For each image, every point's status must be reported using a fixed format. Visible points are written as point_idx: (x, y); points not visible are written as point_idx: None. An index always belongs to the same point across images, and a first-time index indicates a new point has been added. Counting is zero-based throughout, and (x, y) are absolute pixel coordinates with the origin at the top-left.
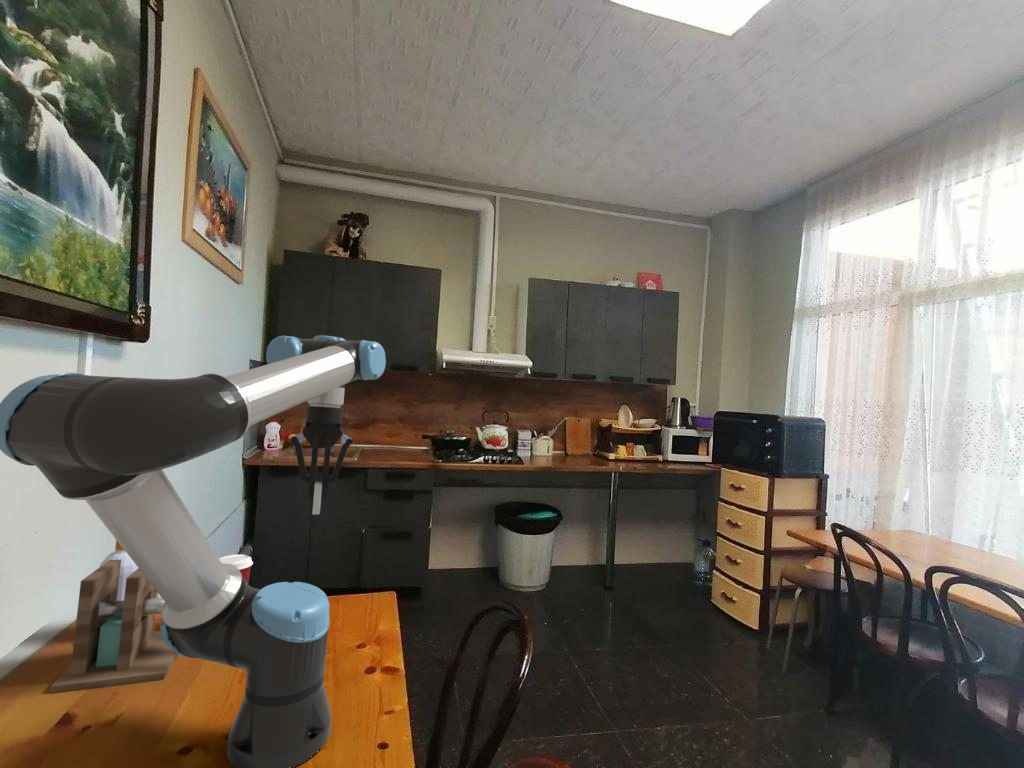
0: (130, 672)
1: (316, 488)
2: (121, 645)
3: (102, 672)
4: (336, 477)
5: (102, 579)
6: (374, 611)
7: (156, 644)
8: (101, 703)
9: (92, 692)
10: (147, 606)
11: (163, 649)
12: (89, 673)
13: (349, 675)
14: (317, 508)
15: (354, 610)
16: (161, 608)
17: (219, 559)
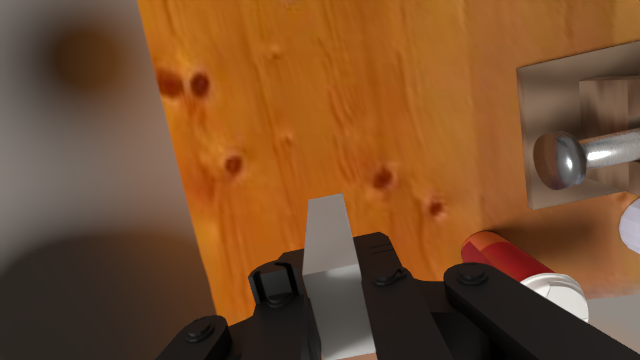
0: (573, 69)
1: (340, 250)
2: (625, 76)
3: (614, 71)
4: (177, 340)
5: None
6: (238, 289)
7: None
8: (577, 5)
9: (602, 35)
10: None
11: None
12: (631, 68)
13: (231, 69)
14: (320, 207)
15: None
16: (616, 133)
17: (585, 314)
